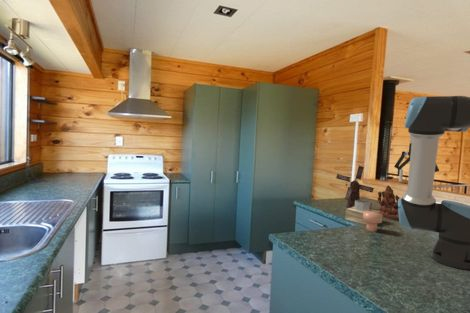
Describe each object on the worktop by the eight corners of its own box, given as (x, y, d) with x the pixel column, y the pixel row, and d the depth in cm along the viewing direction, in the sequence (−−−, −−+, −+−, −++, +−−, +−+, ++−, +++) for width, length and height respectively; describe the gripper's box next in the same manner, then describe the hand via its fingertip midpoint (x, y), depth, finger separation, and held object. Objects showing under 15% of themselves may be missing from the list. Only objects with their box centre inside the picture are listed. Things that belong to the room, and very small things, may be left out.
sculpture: (406, 220, 170) (409, 187, 169) (396, 221, 167) (399, 187, 166) (382, 213, 186) (385, 182, 184) (373, 214, 183) (375, 183, 181)
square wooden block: (369, 225, 158) (370, 214, 158) (345, 219, 168) (345, 209, 168) (379, 220, 168) (379, 210, 167) (355, 215, 178) (356, 205, 177)
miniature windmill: (332, 207, 197) (335, 163, 195) (335, 204, 207) (338, 163, 205) (372, 213, 185) (375, 167, 183) (373, 209, 195) (376, 165, 193)
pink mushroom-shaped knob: (377, 234, 143) (378, 216, 143) (359, 229, 150) (360, 212, 149) (383, 230, 149) (385, 213, 149) (366, 226, 156) (367, 210, 155)
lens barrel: (367, 212, 161) (367, 203, 161) (352, 209, 167) (353, 201, 167) (373, 210, 167) (373, 202, 167) (358, 207, 173) (359, 199, 173)
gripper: (448, 144, 144) (444, 186, 145) (394, 142, 162) (391, 179, 163) (444, 143, 139) (440, 187, 140) (389, 141, 157) (386, 180, 158)
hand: (414, 183), depth 152 cm, fingers open, 13 cm apart
